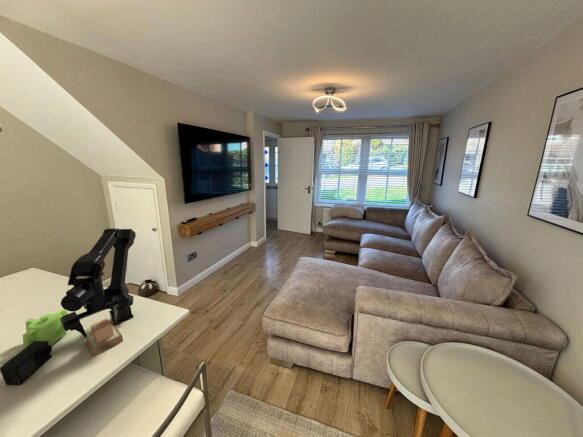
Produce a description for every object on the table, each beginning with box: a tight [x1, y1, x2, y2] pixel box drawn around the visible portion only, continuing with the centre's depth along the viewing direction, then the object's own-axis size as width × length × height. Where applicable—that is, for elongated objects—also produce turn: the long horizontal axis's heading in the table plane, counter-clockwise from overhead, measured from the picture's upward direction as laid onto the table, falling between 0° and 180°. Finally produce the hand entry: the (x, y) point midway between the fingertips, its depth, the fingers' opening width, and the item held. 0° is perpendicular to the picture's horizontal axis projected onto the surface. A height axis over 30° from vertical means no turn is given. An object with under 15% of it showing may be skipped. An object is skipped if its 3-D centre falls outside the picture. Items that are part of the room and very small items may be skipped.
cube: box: [90, 318, 114, 343], centre depth 87 cm, size 5×5×5 cm
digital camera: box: [0, 341, 53, 386], centre depth 76 cm, size 10×5×7 cm, turn 2°
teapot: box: [22, 308, 68, 347], centre depth 88 cm, size 12×12×10 cm
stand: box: [84, 323, 124, 357], centre depth 88 cm, size 9×9×3 cm
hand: (101, 329), depth 87 cm, fingers open, 9 cm apart
